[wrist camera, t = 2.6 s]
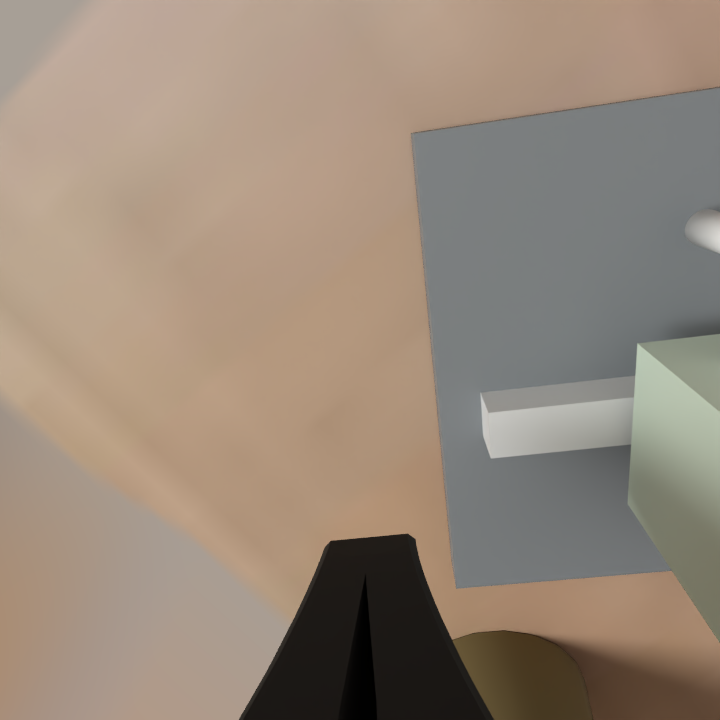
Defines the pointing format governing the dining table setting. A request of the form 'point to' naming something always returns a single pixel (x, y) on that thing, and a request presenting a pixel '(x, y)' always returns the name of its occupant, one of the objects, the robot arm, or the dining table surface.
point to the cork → (524, 677)
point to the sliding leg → (681, 449)
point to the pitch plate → (558, 320)
